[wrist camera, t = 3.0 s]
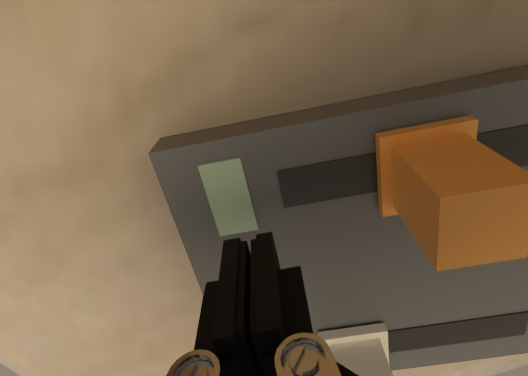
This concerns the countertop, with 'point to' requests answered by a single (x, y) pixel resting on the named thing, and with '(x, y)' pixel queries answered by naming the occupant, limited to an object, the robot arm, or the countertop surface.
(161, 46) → the countertop surface
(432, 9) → the countertop surface
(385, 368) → the switch
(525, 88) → the panel
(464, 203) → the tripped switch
